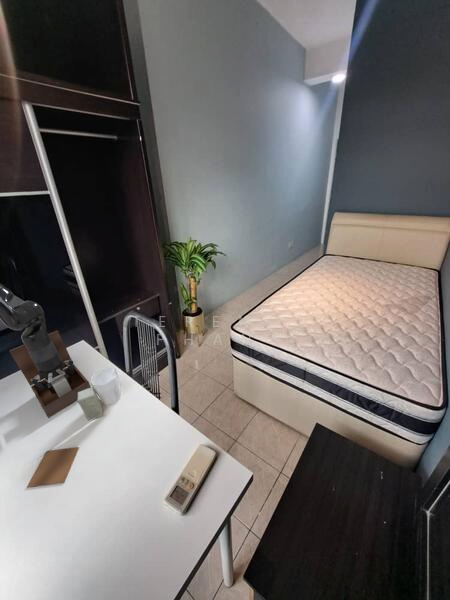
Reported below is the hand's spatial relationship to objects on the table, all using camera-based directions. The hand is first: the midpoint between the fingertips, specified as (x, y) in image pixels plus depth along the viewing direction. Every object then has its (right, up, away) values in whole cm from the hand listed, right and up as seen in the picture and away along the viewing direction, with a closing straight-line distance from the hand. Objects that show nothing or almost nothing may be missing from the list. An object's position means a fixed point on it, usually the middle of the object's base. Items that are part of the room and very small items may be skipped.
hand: (62, 388), depth 95 cm
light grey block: (0, -3, +2) cm, 3 cm away
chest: (-1, -3, +3) cm, 4 cm away
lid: (-7, +12, +1) cm, 14 cm away
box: (+16, -7, -6) cm, 19 cm away
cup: (+20, -4, 0) cm, 20 cm away
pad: (+12, -16, -21) cm, 29 cm away
